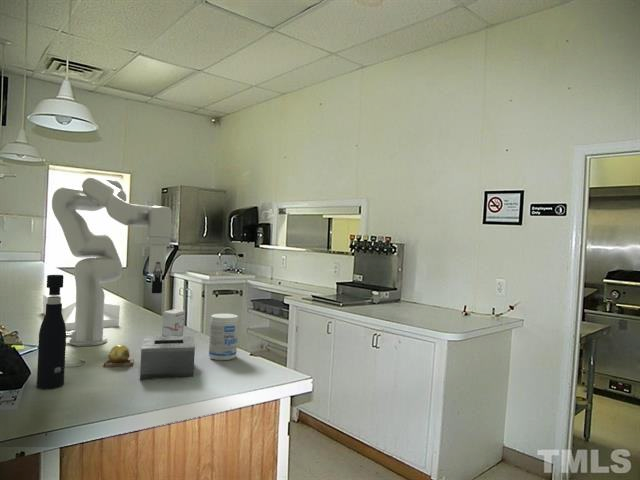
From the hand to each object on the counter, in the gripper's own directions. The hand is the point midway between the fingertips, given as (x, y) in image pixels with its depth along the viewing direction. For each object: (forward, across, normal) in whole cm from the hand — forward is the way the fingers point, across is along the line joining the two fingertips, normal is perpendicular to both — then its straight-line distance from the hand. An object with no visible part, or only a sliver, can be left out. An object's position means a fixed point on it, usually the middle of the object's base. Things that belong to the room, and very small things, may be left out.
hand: (156, 291), depth 154 cm
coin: (+22, +9, -10) cm, 26 cm away
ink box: (+22, -20, +7) cm, 31 cm away
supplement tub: (+23, +6, +23) cm, 33 cm away
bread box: (+23, -68, -33) cm, 79 cm away
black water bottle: (+22, +26, -26) cm, 43 cm away
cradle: (+22, +9, -10) cm, 26 cm away
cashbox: (+22, +18, +4) cm, 29 cm away
